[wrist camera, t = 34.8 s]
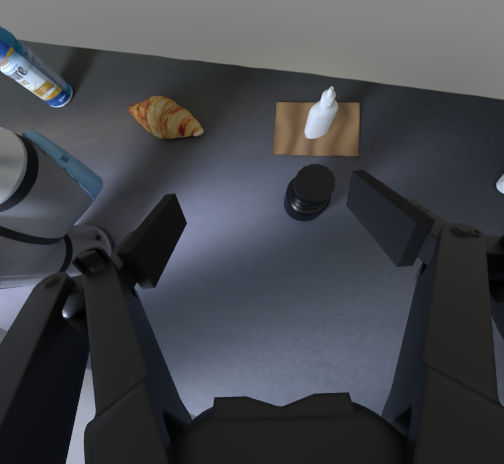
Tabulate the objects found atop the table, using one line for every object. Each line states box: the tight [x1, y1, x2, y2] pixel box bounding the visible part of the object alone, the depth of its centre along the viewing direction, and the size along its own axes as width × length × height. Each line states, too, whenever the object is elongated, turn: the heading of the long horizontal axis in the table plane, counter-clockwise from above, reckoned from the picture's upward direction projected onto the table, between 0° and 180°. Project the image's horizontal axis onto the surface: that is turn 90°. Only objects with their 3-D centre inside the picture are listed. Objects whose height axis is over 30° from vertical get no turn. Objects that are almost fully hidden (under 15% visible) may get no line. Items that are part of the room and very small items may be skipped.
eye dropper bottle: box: [304, 87, 338, 139], centre depth 41 cm, size 4×6×12 cm
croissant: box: [128, 96, 203, 139], centre depth 49 cm, size 21×10×8 cm, turn 71°
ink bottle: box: [284, 164, 335, 221], centre depth 39 cm, size 10×9×12 cm
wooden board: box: [273, 102, 360, 157], centre depth 47 cm, size 20×14×1 cm
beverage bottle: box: [0, 27, 73, 107], centre depth 46 cm, size 8×8×20 cm
